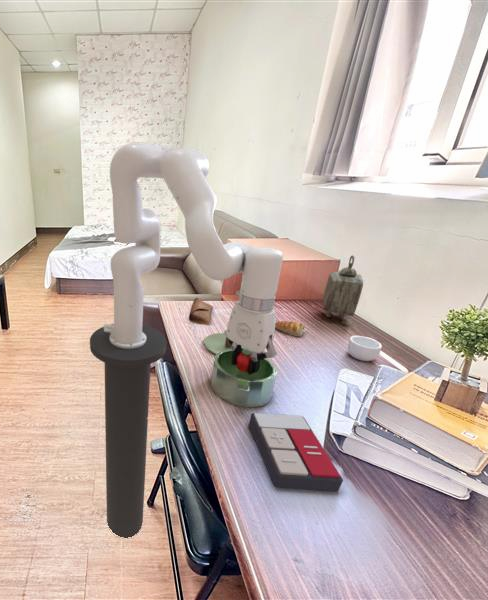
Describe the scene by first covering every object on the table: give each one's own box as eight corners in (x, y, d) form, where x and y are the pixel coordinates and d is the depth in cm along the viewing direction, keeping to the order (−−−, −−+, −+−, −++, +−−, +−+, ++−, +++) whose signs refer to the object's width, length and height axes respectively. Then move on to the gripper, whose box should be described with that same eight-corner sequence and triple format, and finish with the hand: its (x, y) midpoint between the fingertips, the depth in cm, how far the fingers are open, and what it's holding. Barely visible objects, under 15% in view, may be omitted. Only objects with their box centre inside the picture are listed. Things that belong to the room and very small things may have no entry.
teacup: (379, 366, 90) (385, 350, 88) (347, 360, 93) (352, 344, 91) (371, 351, 98) (376, 336, 96) (342, 345, 102) (346, 330, 100)
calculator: (279, 473, 54) (251, 409, 67) (274, 489, 56) (247, 424, 69) (346, 478, 53) (303, 412, 66) (338, 494, 55) (299, 427, 68)
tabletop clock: (350, 328, 113) (371, 261, 104) (321, 322, 117) (338, 258, 108) (345, 313, 125) (364, 253, 115) (319, 309, 129) (335, 250, 120)
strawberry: (235, 370, 78) (237, 354, 76) (235, 362, 81) (238, 346, 80) (253, 374, 76) (256, 357, 75) (252, 365, 80) (255, 349, 78)
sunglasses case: (211, 323, 116) (203, 308, 114) (194, 329, 119) (186, 315, 118) (213, 306, 131) (206, 292, 130) (197, 311, 135) (191, 298, 133)
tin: (206, 405, 75) (210, 379, 72) (214, 362, 92) (217, 340, 90) (273, 421, 70) (279, 395, 67) (268, 373, 87) (273, 350, 84)
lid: (201, 354, 97) (203, 338, 95) (206, 332, 110) (208, 318, 108) (255, 364, 91) (258, 348, 89) (254, 340, 105) (257, 326, 103)
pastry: (272, 330, 112) (274, 320, 110) (276, 324, 116) (278, 314, 115) (301, 338, 106) (304, 328, 105) (304, 331, 111) (307, 321, 110)
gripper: (216, 293, 77) (208, 357, 84) (281, 317, 64) (265, 390, 70) (236, 288, 81) (227, 349, 87) (301, 310, 67) (284, 380, 74)
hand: (244, 367), depth 79 cm, fingers closed on strawberry, 4 cm apart
